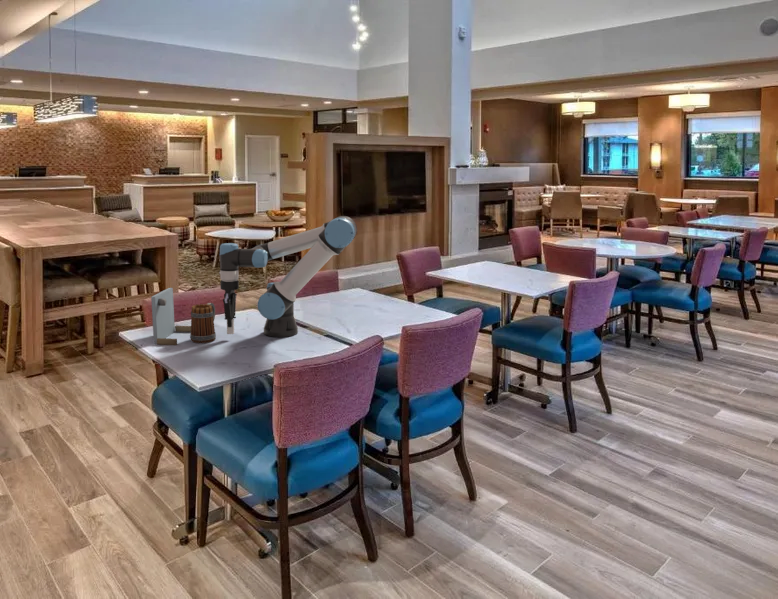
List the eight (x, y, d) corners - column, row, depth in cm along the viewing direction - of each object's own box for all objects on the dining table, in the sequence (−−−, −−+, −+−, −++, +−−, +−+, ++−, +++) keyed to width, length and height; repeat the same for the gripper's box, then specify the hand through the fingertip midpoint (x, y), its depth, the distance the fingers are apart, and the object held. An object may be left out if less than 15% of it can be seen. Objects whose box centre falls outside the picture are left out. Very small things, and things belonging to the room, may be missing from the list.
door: (180, 331, 281) (178, 287, 277) (163, 344, 262) (160, 297, 257) (171, 331, 281) (169, 287, 277) (153, 343, 262) (151, 296, 258)
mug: (208, 344, 263) (207, 309, 260) (185, 342, 265) (184, 307, 262) (225, 335, 278) (224, 302, 274) (203, 333, 280) (202, 300, 276)
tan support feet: (193, 331, 282) (193, 326, 282) (176, 345, 260) (175, 339, 260) (176, 330, 282) (175, 325, 282) (157, 344, 260) (156, 338, 260)
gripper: (225, 277, 272) (226, 329, 277) (216, 282, 259) (217, 337, 264) (242, 277, 272) (243, 330, 277) (234, 283, 259) (235, 338, 264)
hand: (230, 333), depth 270 cm, fingers closed
